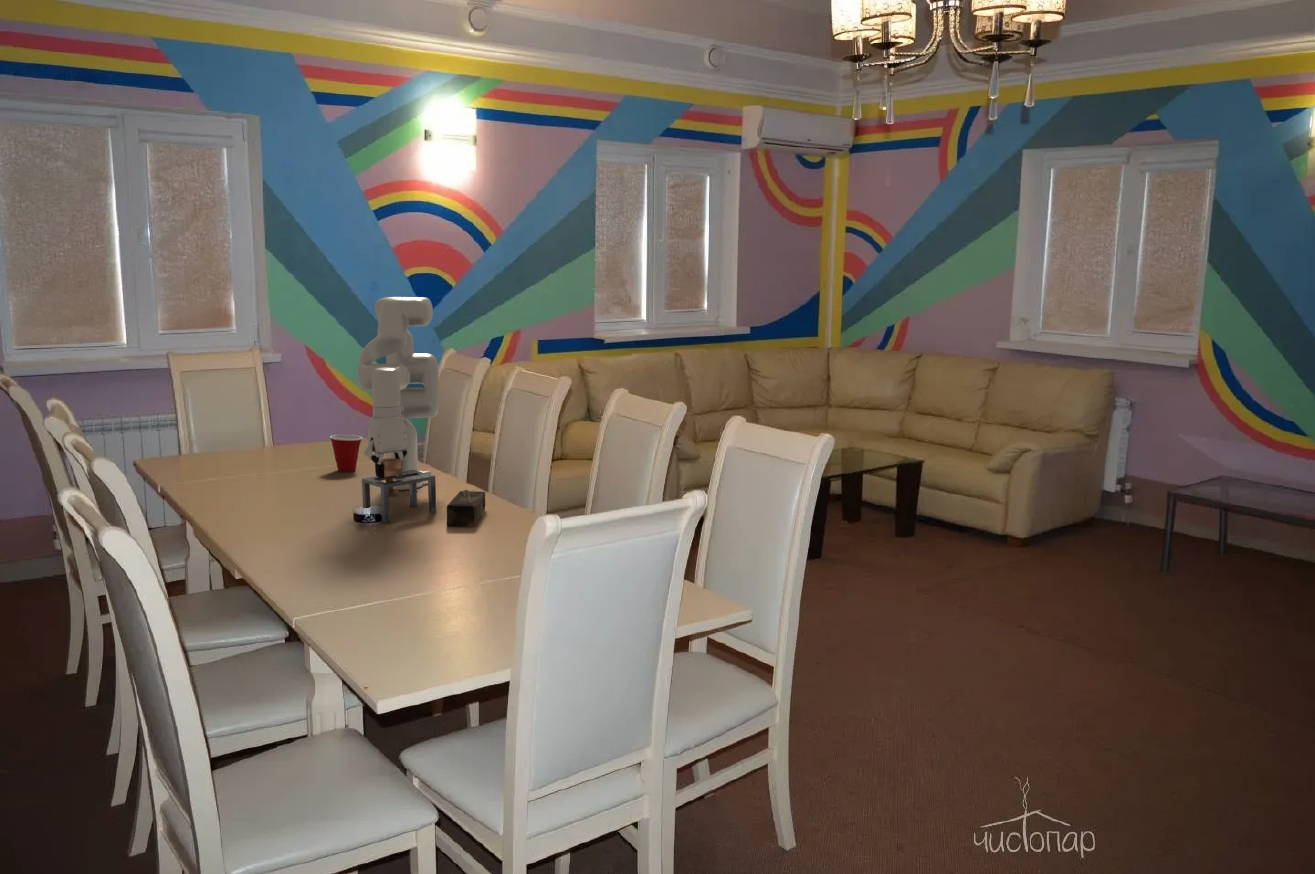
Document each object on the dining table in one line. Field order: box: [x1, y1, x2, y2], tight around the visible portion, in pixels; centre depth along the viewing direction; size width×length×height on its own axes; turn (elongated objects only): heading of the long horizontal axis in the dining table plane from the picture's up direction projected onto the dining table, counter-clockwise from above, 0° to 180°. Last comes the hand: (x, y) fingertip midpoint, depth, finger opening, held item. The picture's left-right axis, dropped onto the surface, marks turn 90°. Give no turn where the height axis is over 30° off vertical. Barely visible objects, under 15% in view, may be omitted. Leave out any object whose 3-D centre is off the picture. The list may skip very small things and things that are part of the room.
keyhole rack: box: [361, 470, 437, 524], centre depth 288 cm, size 17×11×11 cm, turn 138°
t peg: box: [382, 457, 402, 498], centre depth 285 cm, size 5×5×10 cm
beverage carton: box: [446, 489, 486, 528], centre depth 286 cm, size 8×19×7 cm, turn 0°
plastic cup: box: [329, 434, 363, 473], centre depth 346 cm, size 11×11×12 cm
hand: (389, 475), depth 285 cm, fingers closed on t peg, 5 cm apart
